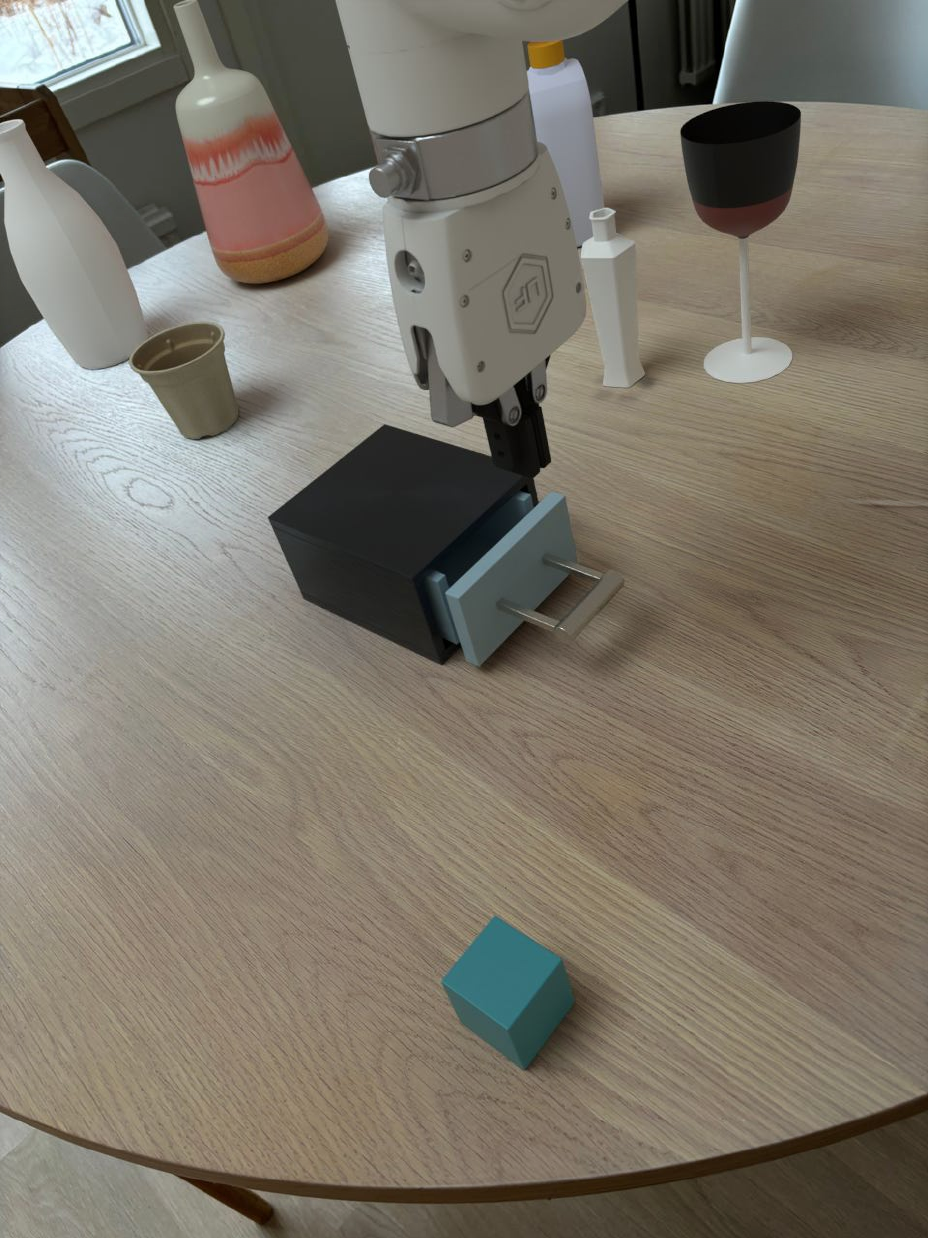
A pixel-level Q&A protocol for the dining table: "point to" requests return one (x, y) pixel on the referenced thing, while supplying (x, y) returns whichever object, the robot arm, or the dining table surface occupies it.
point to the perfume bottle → (613, 298)
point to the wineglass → (743, 206)
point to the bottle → (67, 258)
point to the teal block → (509, 991)
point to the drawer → (513, 578)
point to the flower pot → (189, 377)
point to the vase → (244, 168)
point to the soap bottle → (566, 130)
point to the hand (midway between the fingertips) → (522, 464)
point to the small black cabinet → (390, 530)
